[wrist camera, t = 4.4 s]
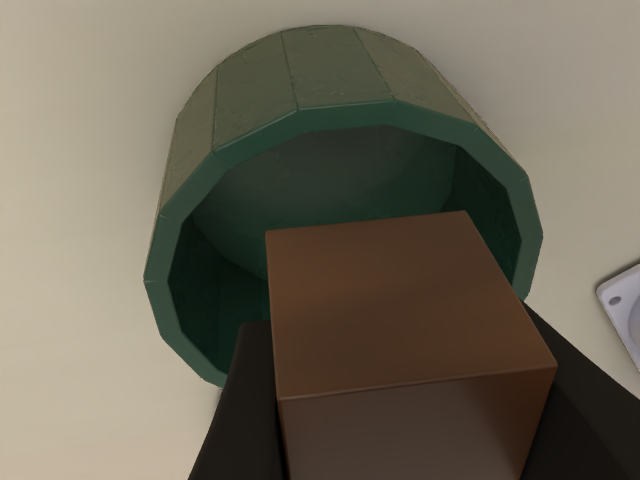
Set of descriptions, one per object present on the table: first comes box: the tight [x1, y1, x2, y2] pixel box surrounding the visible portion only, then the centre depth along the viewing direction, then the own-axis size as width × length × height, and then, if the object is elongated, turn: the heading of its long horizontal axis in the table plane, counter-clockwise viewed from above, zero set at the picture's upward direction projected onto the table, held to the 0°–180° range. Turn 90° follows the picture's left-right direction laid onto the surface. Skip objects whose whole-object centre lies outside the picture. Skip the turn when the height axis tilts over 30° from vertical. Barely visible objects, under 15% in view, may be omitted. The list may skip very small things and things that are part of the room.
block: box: [265, 210, 558, 480], centre depth 10 cm, size 4×4×4 cm
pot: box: [143, 25, 543, 389], centre depth 17 cm, size 10×10×6 cm
